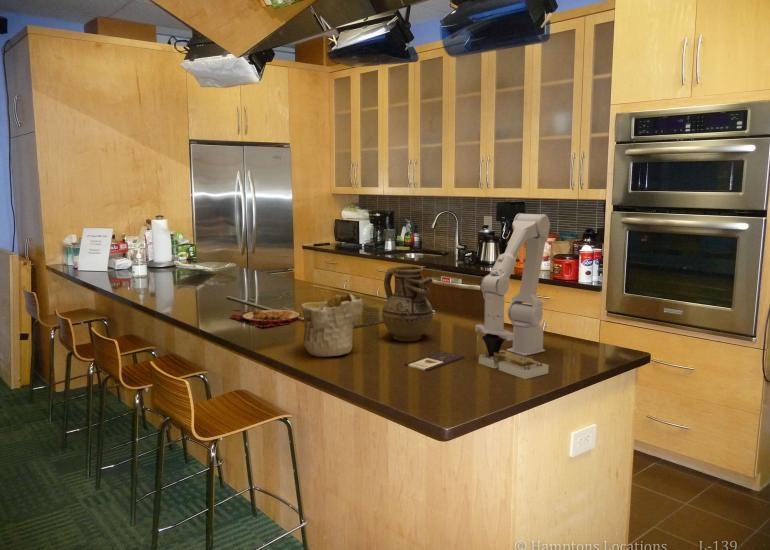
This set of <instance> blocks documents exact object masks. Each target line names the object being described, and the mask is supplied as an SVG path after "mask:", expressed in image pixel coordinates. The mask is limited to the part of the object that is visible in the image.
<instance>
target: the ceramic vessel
mask: <svg viewBox="0 0 770 550" xmlns="http://www.w3.org/2000/svg"><path fill="white" fill-rule="evenodd" d="M363 302H364V301H363V299H362V297H359V296H355V295H353V294H352V293H348V294H347V295H344V294H342V295H340V294H336V295H334V296H332V297H331V298H329V299H328V300H325V301H319V302H318V301H317V302H311V301H310V302H305V303H302V304H301V305H300V308H301V311H302V314H303V315H304V316H303V315H302V316H303V317H304V319H303V321H304V322H303V326H304V332H303V338H302V339H303V341H302V343H303V346H304V347H305V350H306V351H307V352H308V353H309V354H310V355H311V356H314V357H317V358H323V357H324V358H325V357H337V356H342V355H346V354H349V353H351V351H352V349H353V340H354V339H353V335H354V333H353V331H354V323H356V322H357V321H358V317H359V316H360V315H361V314H362V313H363V309H364V303H363Z"/></svg>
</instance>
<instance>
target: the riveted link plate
mask: <svg viewBox="0 0 770 550" xmlns="http://www.w3.org/2000/svg"><path fill="white" fill-rule="evenodd" d="M501 350H502V351H500V350H499V351H497V352H494V358H496V359H498V367H499V362H500V361H506V362H509V363H512V364H515V365H518V366H521V367H524V366H528V365H532V364H533V360H534V359H533V358H530V357H527V356H523V355H520V354H517V353H513V352H512V353H511V352H510V351H507V350H505V349H501ZM504 350H505V351H504Z"/></svg>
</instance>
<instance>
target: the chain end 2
mask: <svg viewBox="0 0 770 550" xmlns="http://www.w3.org/2000/svg"><path fill="white" fill-rule="evenodd" d="M498 371H501V372H503V373H506V374H509V375H512V376H514V377H517V378H521V379H523V380H529V379H533V378H536V377H540V376H543V375H544V376H545V375H547V374H549V364H548V363H547V364H546V363H544V362H543V363H542V362H540V361H536V360H534V359H533V364H532V365H528V366H524V367H521V366H518V365H515V364H512V363H509V362H506V361H500V362H499V366H498Z"/></svg>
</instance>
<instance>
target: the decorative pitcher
mask: <svg viewBox="0 0 770 550" xmlns="http://www.w3.org/2000/svg"><path fill="white" fill-rule="evenodd" d="M423 271H424V268H423V267H422V266H418V265H417V266H416V265H415V266H414V265H402V266H393V267H390V268H388V269H387V270H386V272H385V274H384V278H383V288H384V292H385V295H386V300H387V301H385V303H384V305H383V308H382V312H381V317H382V321H383V324H384V325H385V327H386V329H387V330H388V332H389V333H390V334H392V338H393V339H394V340H396V341H401V342H415V341H419V340H420V339H422V336H423V334H425V333H426V332H427V331H428V329H429V328H430V326H431V325H432V322H433V317H434V311H433V307H432V304H431V303H430V301H429V300H428V299H427V297H426V296H427V295H429V294H430V289H429V288H428V287H427V286H428V285H431V284H432V283H433V278H431V277H427V278H425V277H424V276H423ZM392 277H394V291H393V290H392V286H391V281H392Z"/></svg>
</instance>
